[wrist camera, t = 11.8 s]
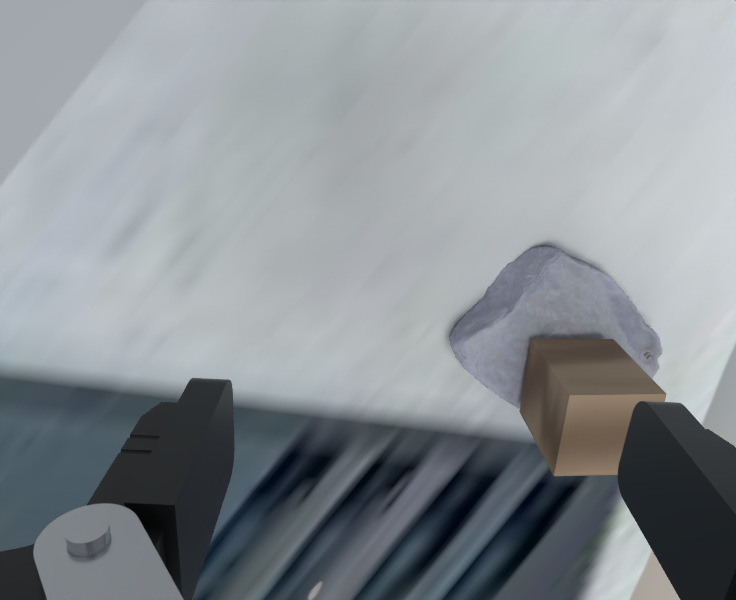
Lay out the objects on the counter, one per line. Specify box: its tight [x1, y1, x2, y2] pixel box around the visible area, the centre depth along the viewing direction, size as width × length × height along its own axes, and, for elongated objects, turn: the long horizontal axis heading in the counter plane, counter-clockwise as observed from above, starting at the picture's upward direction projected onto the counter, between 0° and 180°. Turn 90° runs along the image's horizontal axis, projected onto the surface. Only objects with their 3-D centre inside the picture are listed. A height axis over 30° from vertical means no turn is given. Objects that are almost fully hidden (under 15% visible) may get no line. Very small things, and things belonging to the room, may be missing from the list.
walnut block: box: [520, 339, 666, 476], centre depth 34 cm, size 5×5×6 cm
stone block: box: [450, 246, 662, 408], centre depth 39 cm, size 12×5×10 cm
